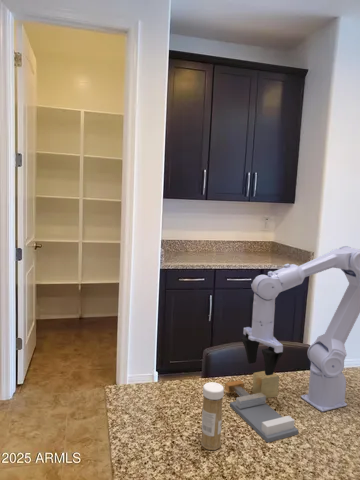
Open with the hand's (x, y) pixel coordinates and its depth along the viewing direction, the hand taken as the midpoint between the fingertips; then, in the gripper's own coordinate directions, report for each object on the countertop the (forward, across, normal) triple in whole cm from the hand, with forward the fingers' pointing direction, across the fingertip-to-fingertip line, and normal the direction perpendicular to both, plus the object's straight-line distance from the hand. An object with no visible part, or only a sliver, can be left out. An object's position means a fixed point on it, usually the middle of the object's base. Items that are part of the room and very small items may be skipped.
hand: (260, 368), depth 97 cm
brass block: (+10, -3, +4) cm, 11 cm away
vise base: (+10, +7, -4) cm, 13 cm away
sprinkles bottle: (+10, +11, -21) cm, 26 cm away
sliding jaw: (+8, -2, -4) cm, 9 cm away
